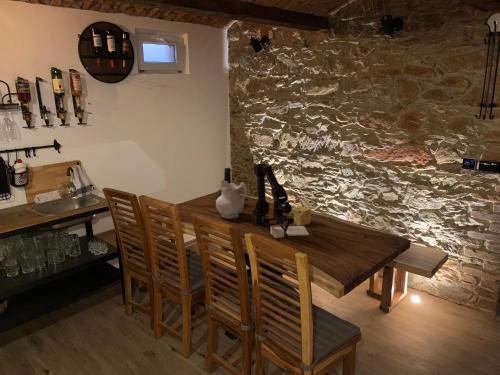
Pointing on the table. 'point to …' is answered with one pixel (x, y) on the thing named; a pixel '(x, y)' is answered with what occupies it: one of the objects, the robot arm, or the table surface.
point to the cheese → (301, 215)
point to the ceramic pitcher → (230, 199)
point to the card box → (277, 231)
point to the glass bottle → (226, 178)
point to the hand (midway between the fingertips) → (277, 233)
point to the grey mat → (296, 230)
